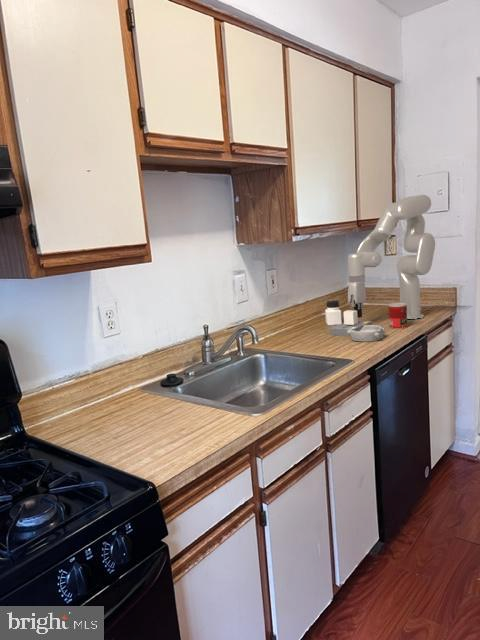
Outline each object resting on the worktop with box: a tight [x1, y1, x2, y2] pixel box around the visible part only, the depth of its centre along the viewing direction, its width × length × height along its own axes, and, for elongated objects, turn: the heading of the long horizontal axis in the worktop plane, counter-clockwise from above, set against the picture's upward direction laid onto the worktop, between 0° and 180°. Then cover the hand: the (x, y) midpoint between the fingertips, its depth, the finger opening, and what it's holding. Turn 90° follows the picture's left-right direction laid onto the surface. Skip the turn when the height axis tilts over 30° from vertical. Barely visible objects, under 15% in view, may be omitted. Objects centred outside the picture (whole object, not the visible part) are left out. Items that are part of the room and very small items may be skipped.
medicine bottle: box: [324, 299, 343, 326], centre depth 243 cm, size 7×7×12 cm
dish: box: [347, 324, 386, 342], centre depth 205 cm, size 14×14×5 cm
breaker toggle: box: [343, 309, 359, 325], centre depth 222 cm, size 4×5×6 cm
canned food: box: [388, 302, 408, 329], centre depth 221 cm, size 8×8×11 cm
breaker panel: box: [328, 319, 374, 337], centre depth 223 cm, size 20×12×3 cm, turn 139°
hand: (358, 317), depth 228 cm, fingers closed
